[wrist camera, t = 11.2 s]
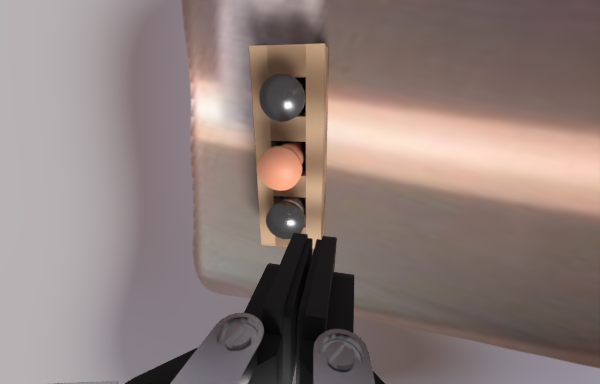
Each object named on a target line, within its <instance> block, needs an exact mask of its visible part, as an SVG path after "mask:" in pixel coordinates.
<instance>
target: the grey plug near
mask: <svg viewBox="0 0 600 384" xmlns="http://www.w3.org/2000/svg"><path fill="white" fill-rule="evenodd" d="M259 102H260V105H261V108H262V110H263V111H264V113H265V114H266V115H267V116H268V117H269V118H271V119H273V120H275V121H278V122H286V121H289V120H292V119H293V118H295V117H296V116H298V115H299V114H300V112H301V111H302V109H303V107H304V106H305V105H306V86H305V85H304V84H303V83H301V82H299V81H298V80H297V79H296V78H294V77H293V76H291V75H287V74H275V75H272V76H270V77H269V78H267V79H266V80H265V81H264V83H263V84H262V86H261V89H260V92H259Z"/></svg>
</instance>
